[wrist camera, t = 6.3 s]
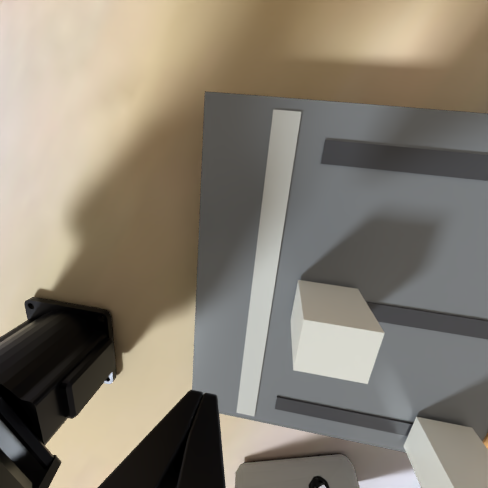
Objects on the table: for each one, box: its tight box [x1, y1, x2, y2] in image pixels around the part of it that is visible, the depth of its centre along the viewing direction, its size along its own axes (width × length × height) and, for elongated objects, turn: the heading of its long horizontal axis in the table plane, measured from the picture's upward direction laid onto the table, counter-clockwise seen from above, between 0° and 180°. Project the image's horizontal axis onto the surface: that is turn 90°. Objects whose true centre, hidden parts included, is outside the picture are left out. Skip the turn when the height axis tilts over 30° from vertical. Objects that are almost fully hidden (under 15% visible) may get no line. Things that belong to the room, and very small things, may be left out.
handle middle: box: [290, 280, 385, 384], centre depth 12 cm, size 3×2×4 cm
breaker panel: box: [192, 92, 488, 452], centre depth 14 cm, size 20×19×2 cm
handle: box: [404, 417, 488, 488], centre depth 13 cm, size 3×2×4 cm
